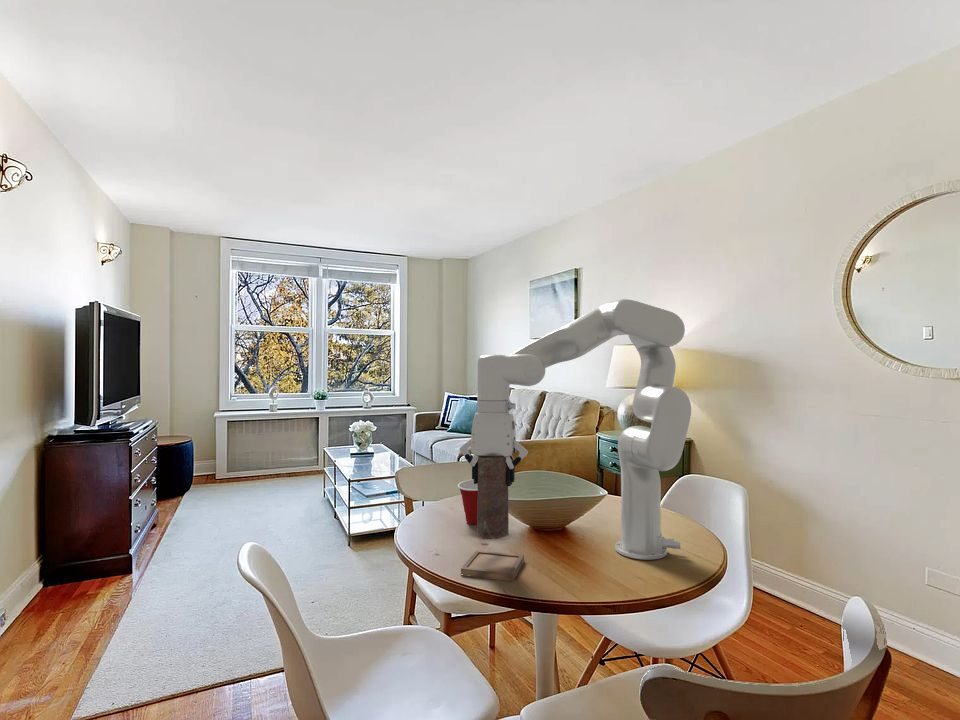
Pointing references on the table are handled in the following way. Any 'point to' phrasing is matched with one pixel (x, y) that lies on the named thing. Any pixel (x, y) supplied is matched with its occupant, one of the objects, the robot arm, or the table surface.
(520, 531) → the table surface
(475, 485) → the plastic cup
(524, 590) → the table surface
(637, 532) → the robot arm
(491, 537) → the grey brown rough cylinder
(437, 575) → the table surface
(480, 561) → the picture frame
